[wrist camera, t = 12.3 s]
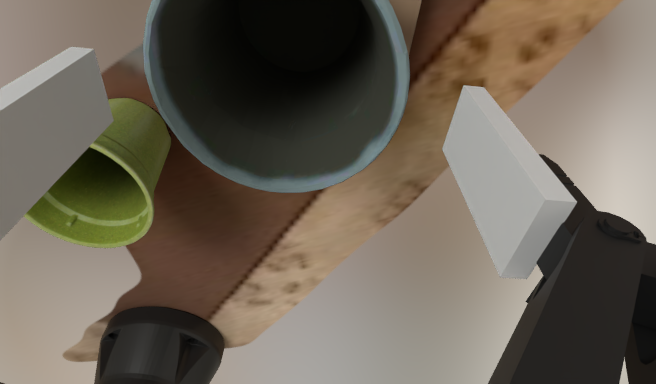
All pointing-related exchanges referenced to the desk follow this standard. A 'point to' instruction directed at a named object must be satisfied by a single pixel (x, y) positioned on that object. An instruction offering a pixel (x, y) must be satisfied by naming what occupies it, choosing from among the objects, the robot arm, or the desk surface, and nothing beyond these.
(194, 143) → the blue ceramic cup
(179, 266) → the desk surface
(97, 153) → the plant pot
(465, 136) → the robot arm
